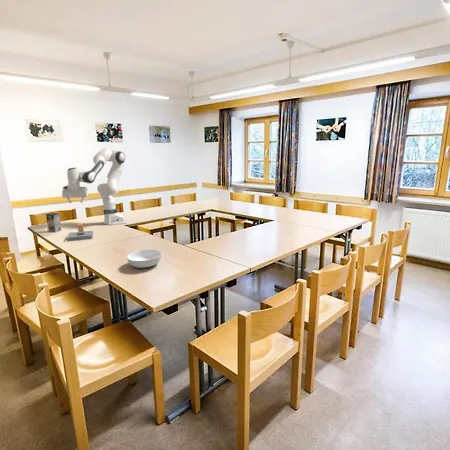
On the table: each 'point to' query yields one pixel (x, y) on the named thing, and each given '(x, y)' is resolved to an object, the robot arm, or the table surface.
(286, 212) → the table surface
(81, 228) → the plug
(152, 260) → the serving bowl
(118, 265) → the table surface
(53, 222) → the coffee box
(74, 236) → the socket plate
